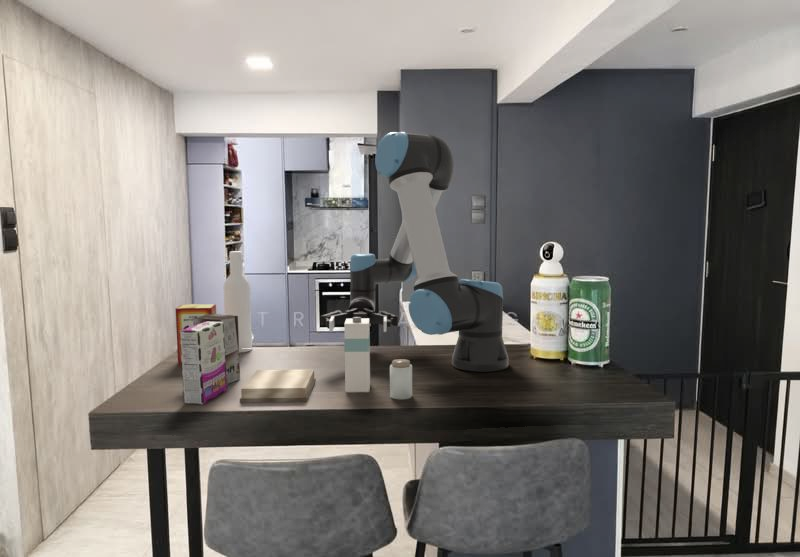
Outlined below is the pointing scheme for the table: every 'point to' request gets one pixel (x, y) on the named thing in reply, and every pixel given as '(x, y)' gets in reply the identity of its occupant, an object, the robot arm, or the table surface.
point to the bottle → (239, 300)
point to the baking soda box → (190, 319)
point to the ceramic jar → (401, 379)
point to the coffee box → (227, 342)
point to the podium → (278, 386)
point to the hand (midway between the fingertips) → (357, 326)
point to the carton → (357, 354)
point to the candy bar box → (203, 362)
